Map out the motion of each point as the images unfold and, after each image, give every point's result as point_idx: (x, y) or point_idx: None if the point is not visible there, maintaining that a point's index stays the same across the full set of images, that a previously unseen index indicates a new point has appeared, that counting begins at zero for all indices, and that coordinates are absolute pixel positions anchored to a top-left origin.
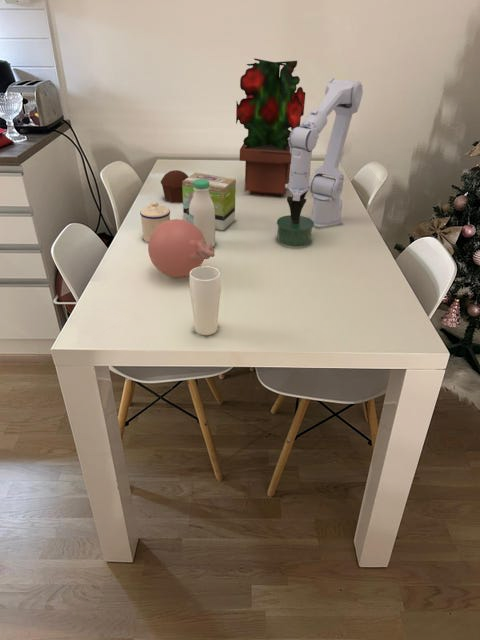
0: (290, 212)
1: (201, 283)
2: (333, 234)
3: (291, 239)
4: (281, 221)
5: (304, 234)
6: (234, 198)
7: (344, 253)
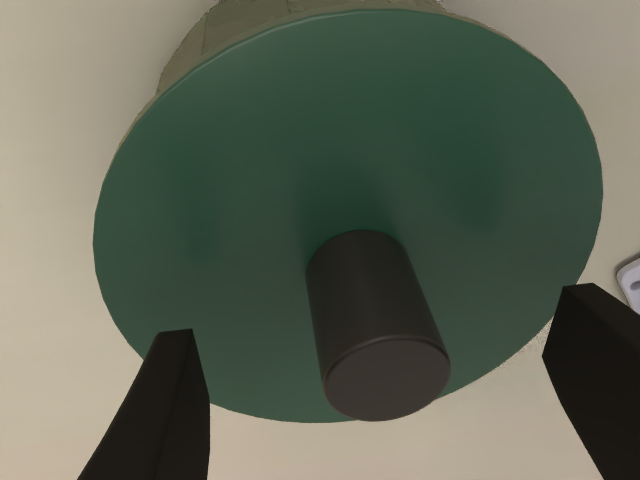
0: (102, 443)
1: None
2: (502, 366)
3: None
4: (334, 92)
5: None
6: None
7: (225, 449)
